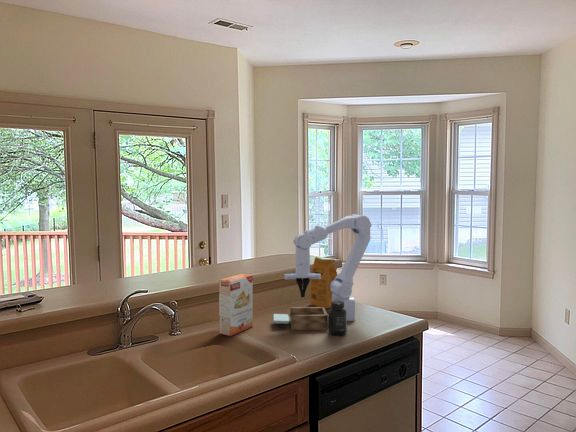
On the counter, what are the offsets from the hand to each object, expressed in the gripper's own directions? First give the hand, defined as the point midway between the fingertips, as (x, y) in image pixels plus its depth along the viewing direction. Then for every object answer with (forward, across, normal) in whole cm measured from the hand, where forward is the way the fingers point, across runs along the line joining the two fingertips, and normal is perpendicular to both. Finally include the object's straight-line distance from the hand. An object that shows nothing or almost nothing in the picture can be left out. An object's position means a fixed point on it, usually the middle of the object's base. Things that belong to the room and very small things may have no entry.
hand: (302, 296), depth 194 cm
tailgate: (+8, -6, -4) cm, 11 cm away
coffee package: (+11, +11, +25) cm, 29 cm away
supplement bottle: (+11, +12, -15) cm, 22 cm away
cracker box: (+11, -26, -10) cm, 30 cm away
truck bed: (+10, +2, -4) cm, 11 cm away
